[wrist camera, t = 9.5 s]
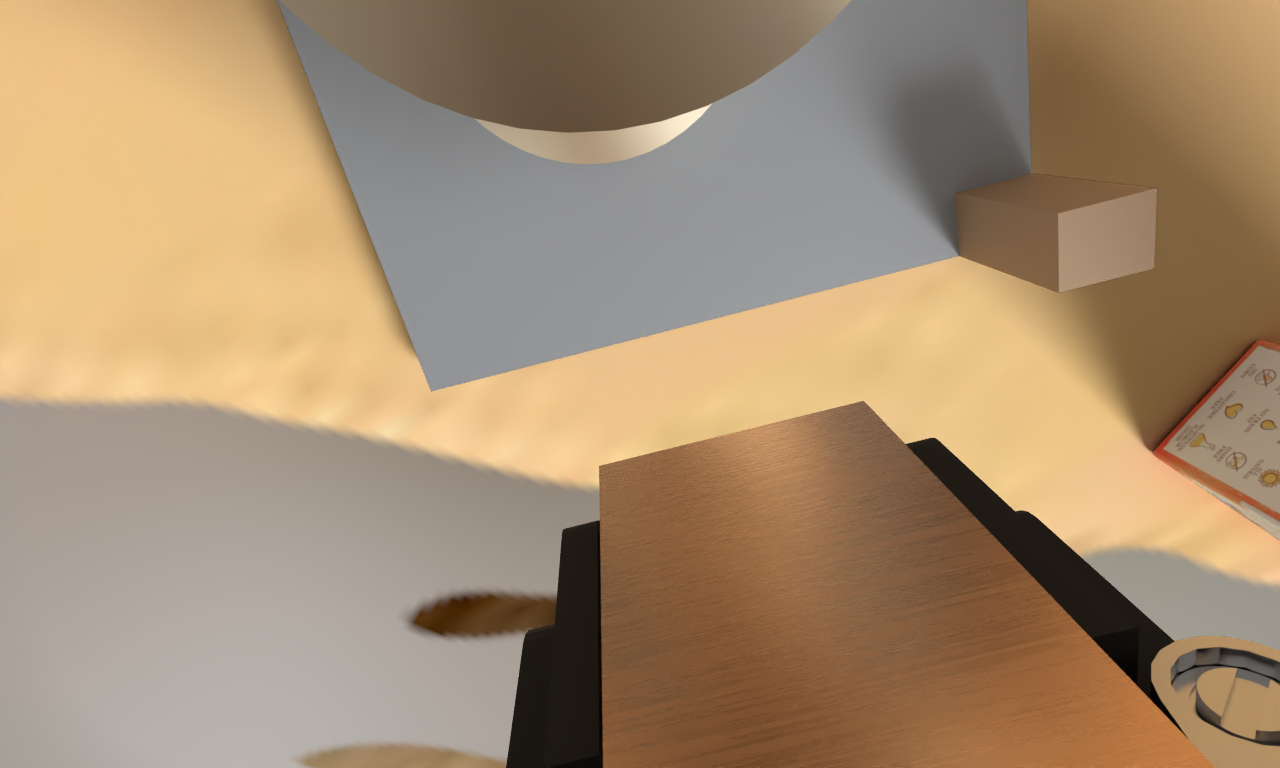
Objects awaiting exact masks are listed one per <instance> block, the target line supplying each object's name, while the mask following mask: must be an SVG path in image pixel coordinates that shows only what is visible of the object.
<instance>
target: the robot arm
mask: <svg viewBox="0 0 1280 768" xmlns="http://www.w3.org/2000/svg"><path fill="white" fill-rule="evenodd" d="M905 445H906V446H907V447H908V448H909V449H910V450H911V451H912V452H913V453H914V454H915V455H916V456H917V457H918V458H919V459H920V460H921V461H922V462H923V463H924V464H925V465H926V466H927V467H928V468H929V470H930V471H931V472H932V473H933V474H934V475H935V476H936V477H937V478H938V479H939V480H940V481H941V482H942V483H943V484H944V485H945V486H946V487H947V488H948V489H949V490H950V491H951V492H952V493H953V495H954V496H955V497H956V498H957V499H958V500H959V501H960V502H961V503H962V504H963V505H964V506H965V507H966V508H967V509H968V510H969V511H970V512H971V513H972V514H973V515H974V516H975V517H976V518H977V520H978V521H979V522H980V523H981V524H982V525H983V526H984V527H985V528H986V529H987V530H988V531H989V532H990V533H991V534H992V535H993V536H994V537H995V538H996V539H997V540H998V541H999V542H1000V544H1001V545H1002V546H1003V547H1004V548H1005V549H1006V550H1007V551H1008V552H1009V553H1010V554H1011V555H1012V556H1013V557H1014V558H1015V559H1016V560H1017V561H1018V562H1019V563H1020V564H1021V565H1022V566H1023V567H1024V569H1025V570H1026V571H1027V572H1028V573H1029V574H1030V575H1031V576H1032V577H1033V578H1034V579H1035V580H1036V581H1037V582H1038V583H1039V584H1040V585H1041V586H1042V587H1043V588H1044V589H1045V590H1046V591H1047V592H1048V594H1049V595H1050V596H1051V597H1052V598H1053V599H1054V600H1055V601H1056V602H1057V603H1058V604H1059V605H1060V606H1061V607H1062V608H1063V609H1064V610H1065V611H1066V612H1067V613H1068V614H1069V615H1070V616H1071V617H1072V619H1073V620H1074V621H1075V622H1076V623H1077V624H1078V625H1079V626H1080V627H1081V628H1082V629H1083V630H1084V631H1085V632H1086V633H1087V634H1088V635H1089V636H1090V637H1091V638H1092V639H1093V640H1094V641H1095V642H1096V644H1097V645H1098V646H1099V647H1100V648H1101V649H1102V650H1103V651H1104V652H1105V653H1106V654H1107V655H1108V656H1109V657H1110V658H1111V659H1112V660H1113V661H1114V662H1115V663H1116V664H1117V665H1118V666H1119V668H1120V669H1121V670H1122V671H1123V672H1124V673H1125V674H1126V675H1127V676H1128V677H1129V678H1130V679H1131V680H1132V681H1133V682H1134V683H1135V684H1136V685H1137V686H1138V687H1139V688H1140V689H1141V690H1142V691H1143V693H1144V694H1145V695H1146V696H1147V697H1148V698H1149V699H1150V700H1151V701H1152V702H1153V703H1154V704H1155V705H1156V706H1157V707H1158V708H1159V709H1160V710H1161V711H1162V712H1163V713H1164V714H1165V715H1166V716H1167V718H1168V719H1169V720H1170V721H1171V722H1172V723H1173V724H1174V725H1175V726H1176V727H1177V728H1178V729H1179V730H1180V731H1181V732H1182V733H1183V734H1184V735H1185V736H1186V737H1187V738H1188V739H1189V740H1190V741H1191V743H1192V744H1193V745H1194V746H1195V747H1196V748H1197V749H1198V750H1199V751H1200V752H1201V753H1202V754H1203V755H1204V756H1205V757H1206V758H1207V759H1208V760H1209V761H1210V762H1211V763H1212V764H1213V765H1214V766H1215V768H1280V651H1279V650H1275V649H1273V648H1270V647H1267V646H1264V645H1262V644H1259V643H1255V642H1251V641H1246V640H1241V639H1235V638H1230V637H1224V636H1222V637H1221V636H1197V637H1192V638H1187V639H1182V640H1177V641H1174V640H1172V639H1171V638H1170V637H1169V636H1168V635H1167V634H1166V633H1165V632H1164V631H1163V630H1161V629H1160V628H1159V627H1158V626H1157V625H1156V624H1155V623H1154V622H1152V621H1151V620H1150V619H1149V618H1148V617H1147V616H1146V615H1144V613H1142V612H1141V611H1140V610H1139V609H1138V608H1137V607H1136V606H1135V605H1133V604H1132V603H1131V602H1130V601H1129V600H1128V599H1127V598H1126V597H1124V596H1123V595H1122V594H1121V593H1120V592H1119V591H1118V590H1117V589H1116V588H1115V587H1113V586H1112V585H1111V584H1110V583H1109V582H1108V581H1107V580H1105V579H1104V578H1103V577H1102V576H1101V575H1100V574H1099V573H1098V572H1097V571H1096V570H1094V569H1093V568H1092V567H1091V566H1090V565H1089V564H1088V563H1087V562H1085V561H1084V560H1083V559H1082V558H1081V557H1080V556H1079V555H1078V554H1077V553H1075V552H1074V551H1073V550H1072V549H1071V548H1070V547H1069V546H1068V545H1067V544H1065V543H1064V542H1063V541H1062V540H1061V539H1060V538H1059V537H1058V536H1057V535H1055V534H1054V533H1053V532H1052V531H1051V530H1050V529H1049V528H1048V527H1046V526H1045V525H1044V524H1043V523H1042V522H1041V521H1040V520H1039V519H1038V518H1036V517H1035V516H1033V515H1032V514H1030V513H1029V512H1026V511H1021V510H1020V511H1016V512H1015V511H1014V510H1013V509H1012V508H1011V507H1010V506H1009V505H1008V504H1007V503H1005V502H1004V501H1003V500H1002V499H1001V498H1000V497H999V496H998V495H997V494H996V493H995V492H994V491H993V490H991V489H990V488H989V487H988V486H987V485H986V484H985V483H984V482H983V481H982V480H981V479H980V478H978V477H977V476H976V475H975V474H974V473H973V472H972V471H971V470H970V469H969V468H968V467H967V466H966V465H964V464H963V463H962V462H961V461H960V460H959V459H958V458H957V457H956V456H955V455H954V454H953V453H952V452H950V451H949V450H948V449H947V448H946V447H945V446H944V445H943V444H942V443H941V442H940V441H939V440H937V439H936V438H929V439H925V440H921V441H917V442H912V443H908V444H905ZM506 768H603V717H602V638H601V560H600V521H595V522H590V523H586V524H582V525H578V526H574V527H570V528H566V529H564V530H563V532H562V541H561V554H560V567H559V579H558V592H557V605H556V617H555V624H552V625H548V626H544V627H540V628H536V629H532V630H528V632H527V633H526V634H525V638H524V642H523V649H522V656H521V664H520V671H519V678H518V686H517V693H516V700H515V707H514V716H513V722H512V730H511V737H510V745H509V752H508V758H507V766H506Z"/></svg>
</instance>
